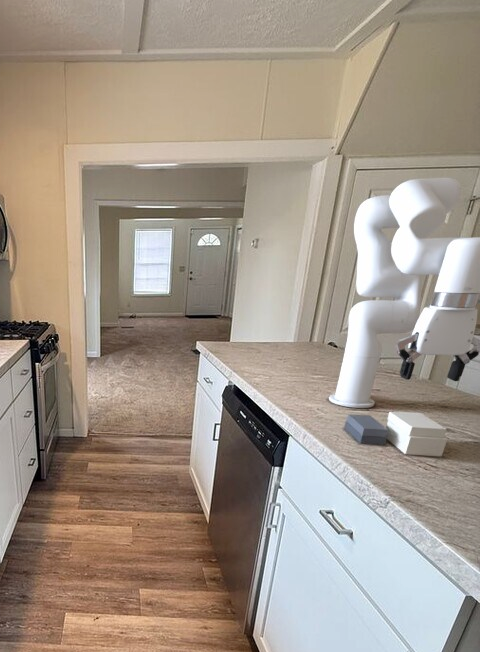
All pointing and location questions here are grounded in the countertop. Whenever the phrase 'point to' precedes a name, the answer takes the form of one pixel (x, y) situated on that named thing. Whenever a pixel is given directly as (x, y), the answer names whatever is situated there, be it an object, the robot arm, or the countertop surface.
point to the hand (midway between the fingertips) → (428, 378)
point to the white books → (415, 442)
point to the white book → (416, 424)
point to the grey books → (366, 429)
